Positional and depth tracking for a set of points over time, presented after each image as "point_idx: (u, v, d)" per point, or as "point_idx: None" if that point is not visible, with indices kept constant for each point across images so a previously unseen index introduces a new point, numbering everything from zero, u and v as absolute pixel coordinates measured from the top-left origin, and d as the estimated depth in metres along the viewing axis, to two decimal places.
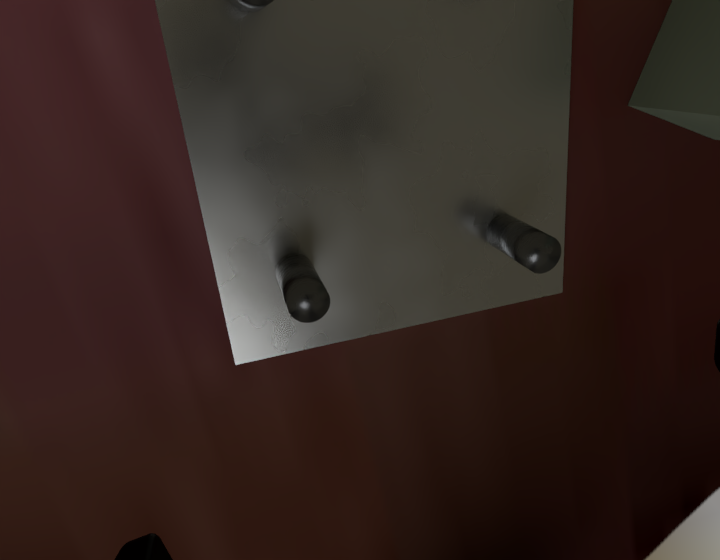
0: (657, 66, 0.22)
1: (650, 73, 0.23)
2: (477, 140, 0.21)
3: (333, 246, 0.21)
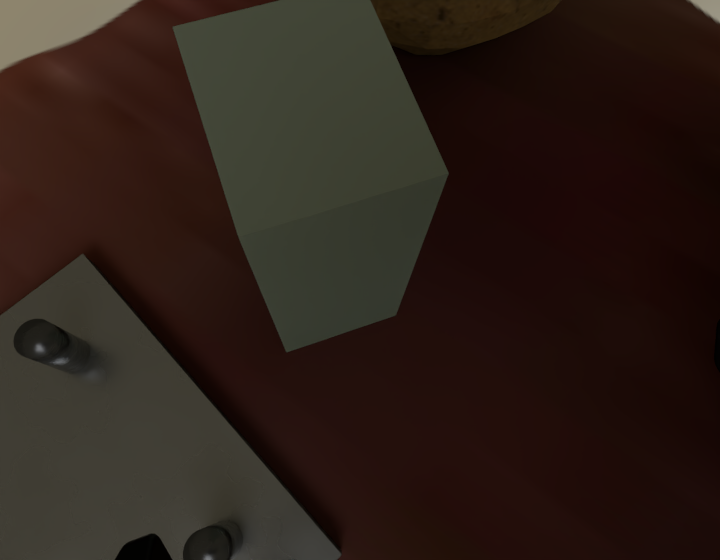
0: None
1: None
2: (139, 482, 0.21)
3: None
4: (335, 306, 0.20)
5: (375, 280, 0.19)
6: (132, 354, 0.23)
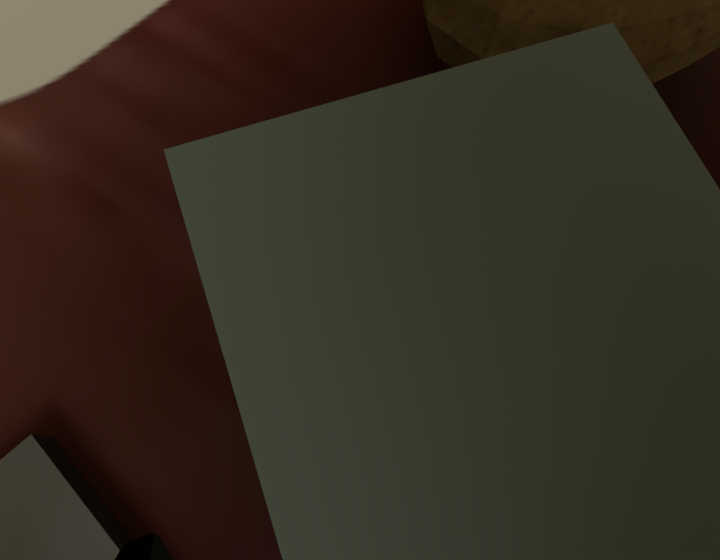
0: None
1: None
2: None
3: None
4: None
5: None
6: None
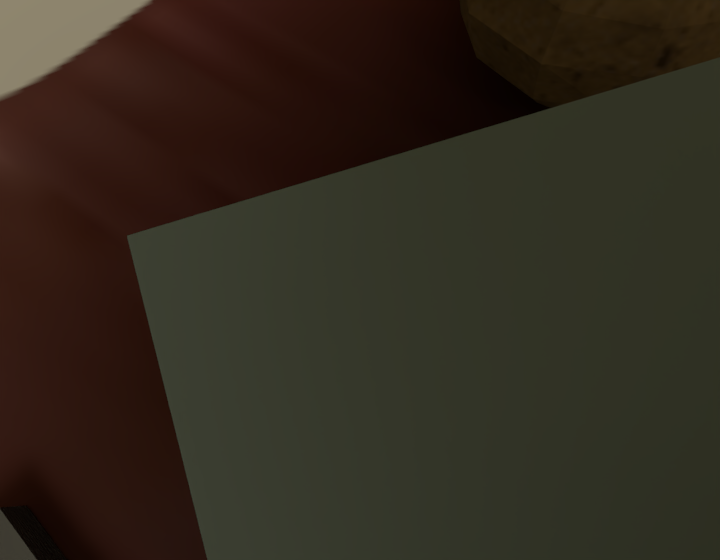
0: None
1: None
2: None
3: None
4: None
5: None
6: None
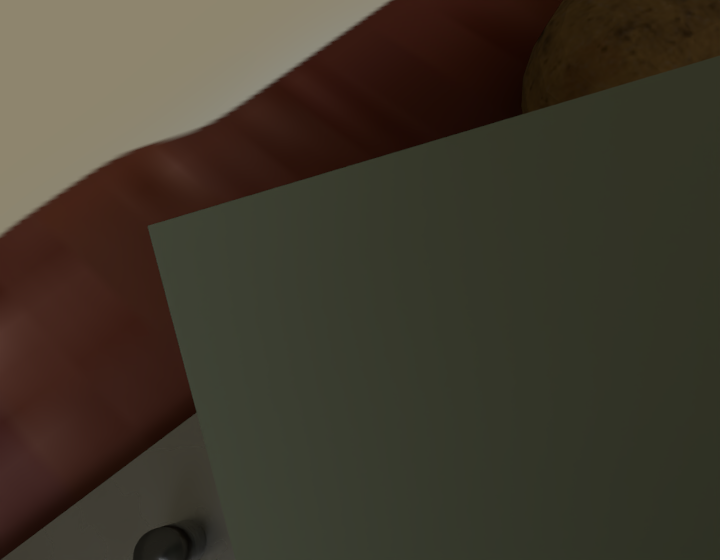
0: None
1: None
2: None
3: None
4: None
5: None
6: None
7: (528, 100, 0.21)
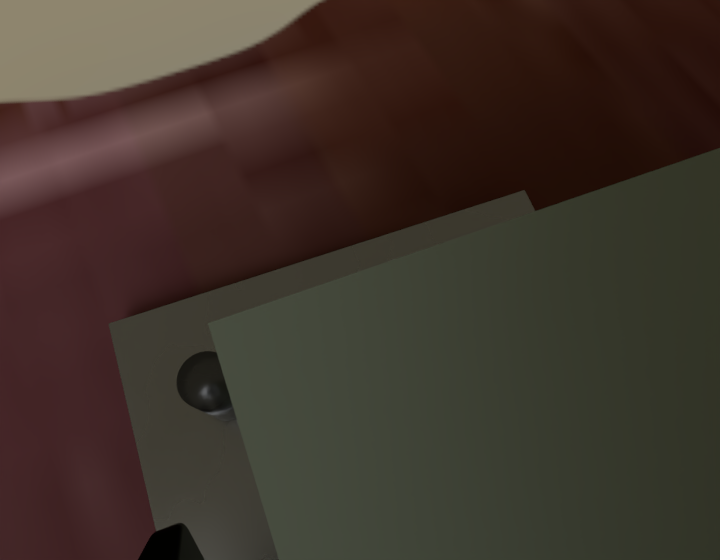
0: None
1: None
2: None
3: None
4: None
5: None
6: None
7: None
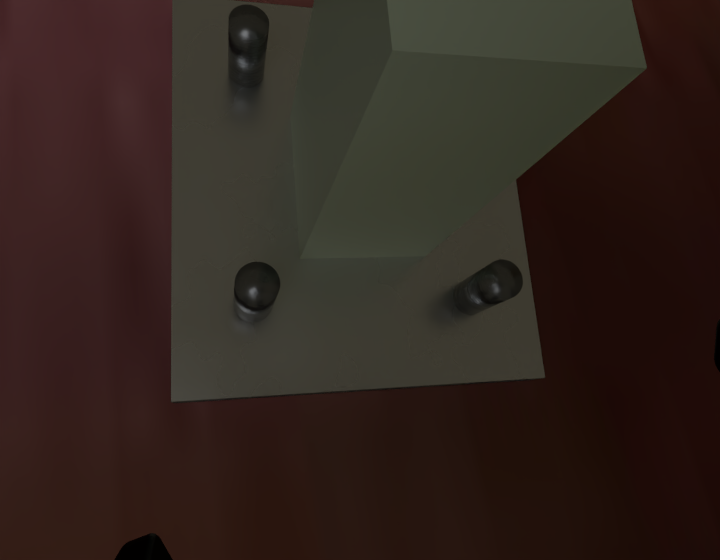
0: (299, 211, 0.21)
1: (298, 220, 0.21)
2: None
3: (295, 284, 0.21)
4: (389, 217, 0.18)
5: (451, 197, 0.16)
6: None
7: None
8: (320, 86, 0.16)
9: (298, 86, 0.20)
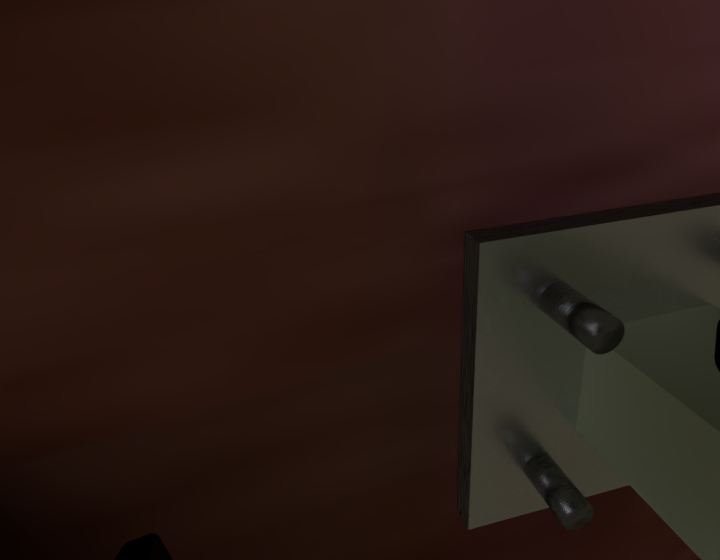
0: (634, 331, 0.23)
1: None
2: None
3: (567, 330, 0.23)
4: (660, 446, 0.20)
5: (687, 509, 0.19)
6: None
7: None
8: None
9: None
